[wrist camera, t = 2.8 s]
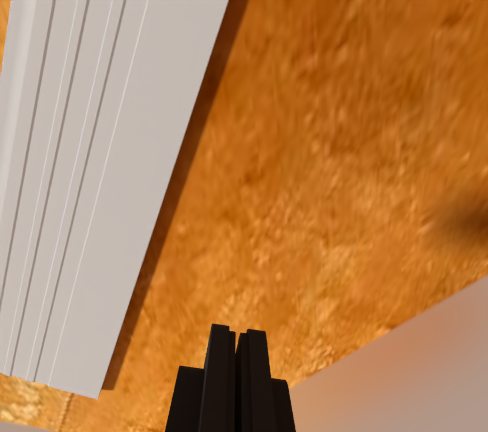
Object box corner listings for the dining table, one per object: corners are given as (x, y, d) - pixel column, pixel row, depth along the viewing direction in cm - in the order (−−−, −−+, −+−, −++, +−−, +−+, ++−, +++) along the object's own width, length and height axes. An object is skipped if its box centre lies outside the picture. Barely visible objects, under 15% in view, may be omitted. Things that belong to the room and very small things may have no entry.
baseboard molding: (-49, 341, 26) (104, 383, 28) (-83, 370, 23) (90, 415, 25) (12, -148, 16) (244, -37, 18) (-34, -197, 14) (245, -60, 15)
